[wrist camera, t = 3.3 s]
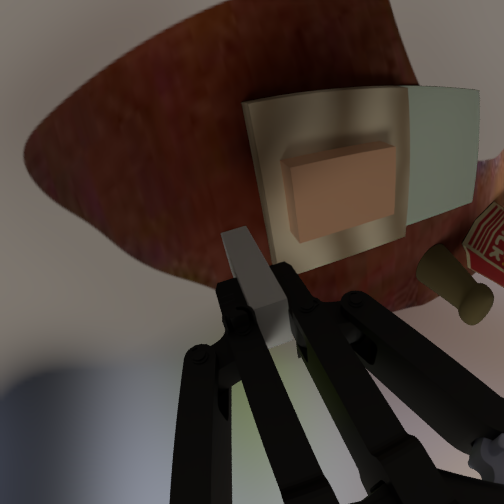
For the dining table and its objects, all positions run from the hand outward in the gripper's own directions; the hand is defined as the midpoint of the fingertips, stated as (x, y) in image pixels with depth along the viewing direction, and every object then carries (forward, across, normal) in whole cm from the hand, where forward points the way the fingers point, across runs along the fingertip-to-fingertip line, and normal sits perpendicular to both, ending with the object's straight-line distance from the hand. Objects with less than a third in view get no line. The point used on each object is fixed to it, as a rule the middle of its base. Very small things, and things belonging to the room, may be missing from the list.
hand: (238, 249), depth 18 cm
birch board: (+7, -10, 0) cm, 12 cm away
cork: (+7, -25, +16) cm, 31 cm away
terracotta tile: (+5, -9, 0) cm, 11 cm away
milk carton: (+7, -37, +14) cm, 41 cm away
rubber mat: (+7, -25, 0) cm, 26 cm away
